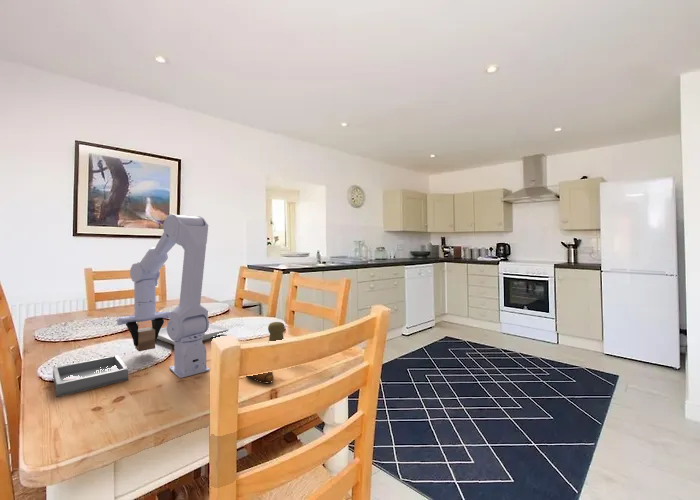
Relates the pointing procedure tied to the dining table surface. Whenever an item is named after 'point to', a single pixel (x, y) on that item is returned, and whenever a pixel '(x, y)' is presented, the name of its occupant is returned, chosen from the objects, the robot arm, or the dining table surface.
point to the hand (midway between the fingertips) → (145, 343)
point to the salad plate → (165, 337)
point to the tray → (88, 375)
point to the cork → (276, 331)
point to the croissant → (263, 377)
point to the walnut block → (146, 339)
